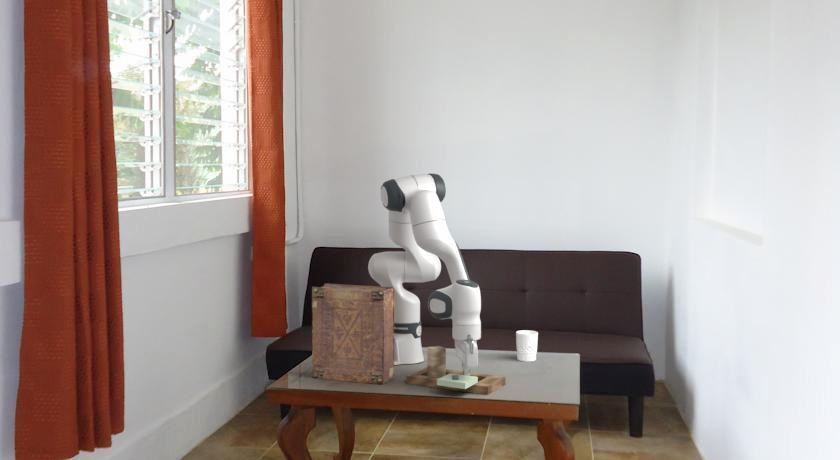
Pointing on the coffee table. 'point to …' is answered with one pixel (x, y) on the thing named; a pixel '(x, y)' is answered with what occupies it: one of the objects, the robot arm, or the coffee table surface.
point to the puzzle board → (482, 387)
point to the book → (353, 333)
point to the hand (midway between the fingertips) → (466, 376)
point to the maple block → (436, 361)
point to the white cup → (526, 345)
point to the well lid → (457, 381)
